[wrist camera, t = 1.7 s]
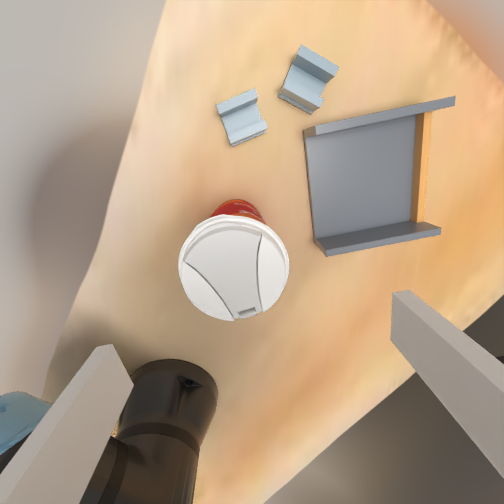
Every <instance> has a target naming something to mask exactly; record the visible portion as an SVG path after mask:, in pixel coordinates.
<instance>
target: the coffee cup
mask: <svg viewBox="0 0 504 504" xmlns="http://www.w3.org/2000/svg"><path fill="white" fill-rule="evenodd" d="M178 272H179V276H180V280H181V283H182V285H183V288H184V291H185V293H186V295H187V296H188V298H189V299H190V301H191V302H192V303H193V304H194V305H195V306H196V307H197V308H198V309H199V310H201V311H202V312H204V313H205V314H207V315H209V316H211V317H214V318H217V319H220V320H226V321H235V319H237V318H241V319H244V318H247V317H251V316H254V315H257V313H258V312H261V311H262V310H263V311H264V312H265V311H266V310H268V309H269V308H270V307H271V306H272V305H273V304H274V303H275V302H276V301H277V299H278V298H279V296H280V295H281V293H282V291H283V288H284V286H285V285H286V282H287V279H288V274H289V258H288V253H287V251H286V248H285V246H284V244H283V242H282V241H281V239H280V238H279V237H278V235H277V234H276V233H275V232H274V231H273V230H272V229H270V228H269V227H268V226H267V225H266V223H265V222H264V220H263V218H262V217H261V215H260V214H259V212H258V211H257V210H256V208H255V207H254V206H253V205H251V204H250V203H248V202H246V201H243V200H230V201H227V202H225V203H223V204H222V205H221V206H220V207H219V208H218V209H217V210H216V211H215V212H214V213H213V214H212V216H211V217H210V218H209V219H207V220H204V221H203V222H201V223H200V224H198V225H197V226H196V227H195V229H194V230H193V232H192V233H191V234H190V235H189V237H188V238H187V239H186V241H185V243H184V244H183V246H182V248H181V251H180V254H179V260H178Z"/></svg>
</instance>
